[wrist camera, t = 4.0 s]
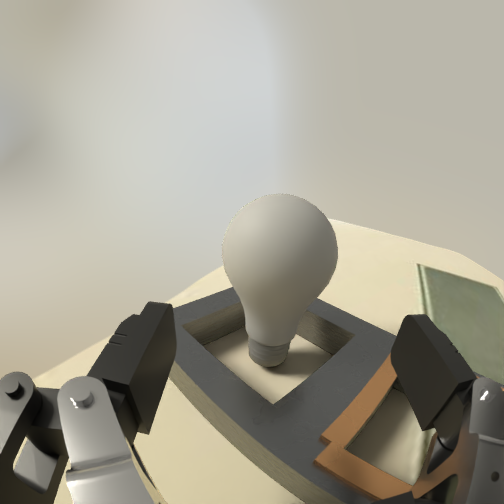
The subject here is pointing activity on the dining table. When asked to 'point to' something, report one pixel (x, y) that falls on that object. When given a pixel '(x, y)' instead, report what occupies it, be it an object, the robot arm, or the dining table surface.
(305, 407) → the rail
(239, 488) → the dining table surface
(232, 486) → the dining table surface
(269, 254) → the lightbulb
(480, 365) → the dining table surface
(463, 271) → the dining table surface
